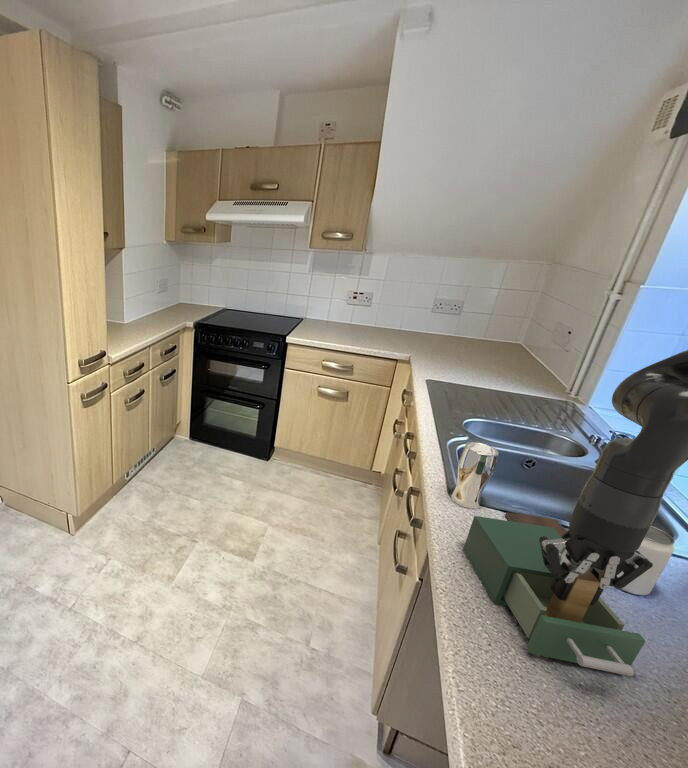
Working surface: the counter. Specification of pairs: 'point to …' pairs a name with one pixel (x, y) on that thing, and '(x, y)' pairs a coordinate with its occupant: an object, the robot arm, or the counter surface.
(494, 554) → the cabinet
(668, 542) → the can
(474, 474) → the beer glass
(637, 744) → the counter surface
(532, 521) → the thin wooden plank
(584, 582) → the wooden block
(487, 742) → the counter surface
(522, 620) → the drawer
